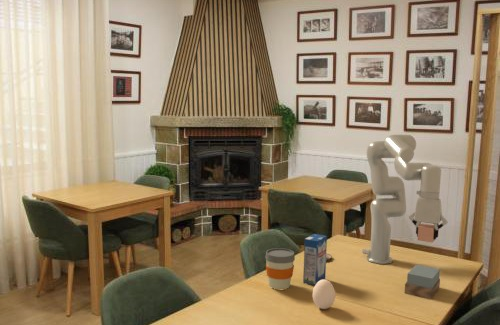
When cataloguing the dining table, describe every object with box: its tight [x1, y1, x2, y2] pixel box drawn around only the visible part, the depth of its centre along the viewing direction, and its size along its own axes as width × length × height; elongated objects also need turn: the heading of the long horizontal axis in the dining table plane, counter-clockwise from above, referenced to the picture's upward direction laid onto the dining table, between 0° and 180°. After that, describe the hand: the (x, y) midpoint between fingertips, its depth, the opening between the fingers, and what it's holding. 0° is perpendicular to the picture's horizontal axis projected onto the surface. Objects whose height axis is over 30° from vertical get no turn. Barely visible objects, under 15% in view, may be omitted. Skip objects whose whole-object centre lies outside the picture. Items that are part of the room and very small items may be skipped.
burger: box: [326, 253, 333, 263], centre depth 247 cm, size 12×12×8 cm
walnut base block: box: [404, 278, 441, 300], centre depth 208 cm, size 11×15×4 cm
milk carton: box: [302, 233, 328, 286], centre depth 215 cm, size 10×6×20 cm, turn 148°
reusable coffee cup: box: [265, 247, 296, 290], centre depth 209 cm, size 13×13×15 cm
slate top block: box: [406, 264, 441, 289], centre depth 207 cm, size 10×14×4 cm
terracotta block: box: [417, 222, 436, 244], centre depth 205 cm, size 6×6×6 cm
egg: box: [312, 278, 336, 310], centre depth 188 cm, size 9×9×11 cm
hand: (426, 236), depth 205 cm, fingers closed on terracotta block, 6 cm apart
